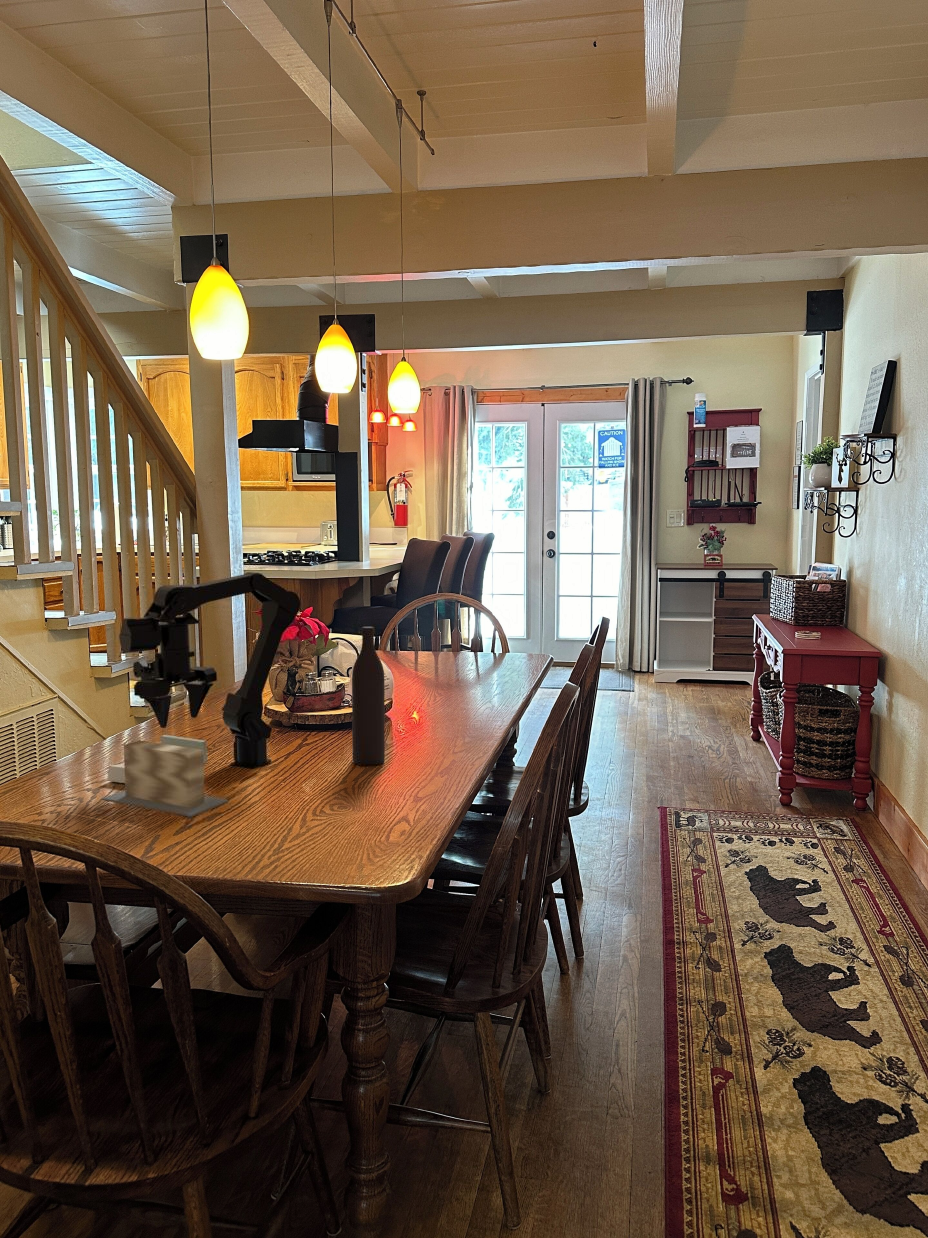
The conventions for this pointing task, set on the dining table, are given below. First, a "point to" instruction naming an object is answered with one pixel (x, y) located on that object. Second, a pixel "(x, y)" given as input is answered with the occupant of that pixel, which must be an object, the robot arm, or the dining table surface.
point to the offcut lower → (116, 773)
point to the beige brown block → (164, 773)
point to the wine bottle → (368, 704)
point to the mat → (185, 811)
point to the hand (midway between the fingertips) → (178, 722)
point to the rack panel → (186, 743)
